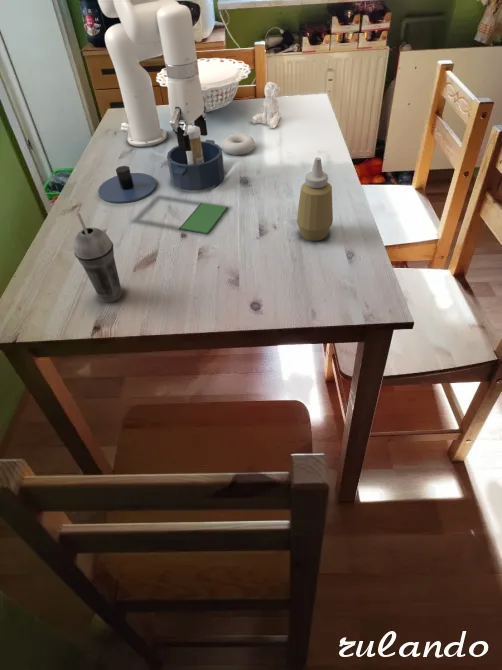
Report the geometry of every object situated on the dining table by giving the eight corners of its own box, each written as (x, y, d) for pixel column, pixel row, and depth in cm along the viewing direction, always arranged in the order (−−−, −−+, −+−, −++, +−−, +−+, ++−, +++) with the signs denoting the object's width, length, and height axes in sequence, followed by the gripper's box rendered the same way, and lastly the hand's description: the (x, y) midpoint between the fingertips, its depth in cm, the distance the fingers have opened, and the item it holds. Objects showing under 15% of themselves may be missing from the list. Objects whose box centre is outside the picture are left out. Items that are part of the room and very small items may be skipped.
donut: (221, 158, 137) (255, 156, 136) (220, 146, 134) (254, 144, 133) (223, 143, 143) (255, 141, 143) (222, 132, 141) (254, 130, 140)
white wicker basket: (263, 97, 169) (262, 58, 159) (238, 133, 148) (235, 90, 139) (182, 94, 176) (176, 56, 167) (147, 128, 155) (139, 87, 146)
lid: (87, 200, 123) (80, 179, 119) (119, 173, 133) (113, 152, 129) (138, 209, 119) (132, 187, 114) (167, 180, 128) (162, 159, 124)
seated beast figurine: (250, 123, 153) (248, 84, 144) (265, 114, 157) (264, 75, 149) (273, 129, 149) (272, 89, 140) (288, 119, 153) (288, 80, 144)
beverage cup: (130, 282, 98) (103, 197, 83) (125, 305, 93) (95, 218, 78) (96, 284, 98) (64, 199, 84) (89, 308, 93) (53, 221, 78)
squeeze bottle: (290, 229, 108) (291, 154, 95) (321, 221, 110) (326, 146, 97) (305, 248, 103) (308, 171, 90) (338, 238, 104) (345, 162, 92)
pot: (157, 193, 124) (152, 166, 119) (190, 160, 137) (187, 134, 131) (206, 200, 120) (203, 173, 114) (236, 165, 132) (234, 140, 127)
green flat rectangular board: (134, 221, 115) (134, 219, 114) (158, 197, 122) (158, 196, 122) (207, 234, 109) (207, 232, 109) (227, 208, 116) (227, 206, 116)
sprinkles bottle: (207, 180, 127) (201, 130, 117) (191, 182, 126) (183, 133, 116) (204, 172, 130) (198, 123, 120) (188, 175, 129) (180, 126, 119)
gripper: (185, 58, 115) (195, 128, 127) (150, 80, 104) (165, 155, 116) (212, 59, 113) (220, 130, 125) (179, 82, 102) (191, 158, 114)
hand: (193, 142), depth 120 cm, fingers open, 9 cm apart
